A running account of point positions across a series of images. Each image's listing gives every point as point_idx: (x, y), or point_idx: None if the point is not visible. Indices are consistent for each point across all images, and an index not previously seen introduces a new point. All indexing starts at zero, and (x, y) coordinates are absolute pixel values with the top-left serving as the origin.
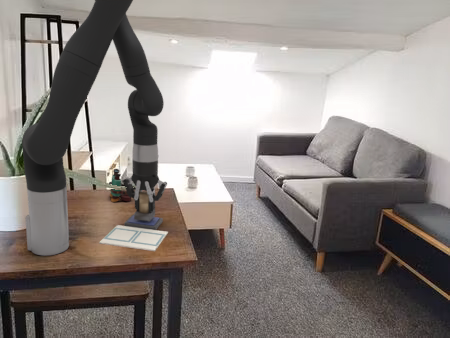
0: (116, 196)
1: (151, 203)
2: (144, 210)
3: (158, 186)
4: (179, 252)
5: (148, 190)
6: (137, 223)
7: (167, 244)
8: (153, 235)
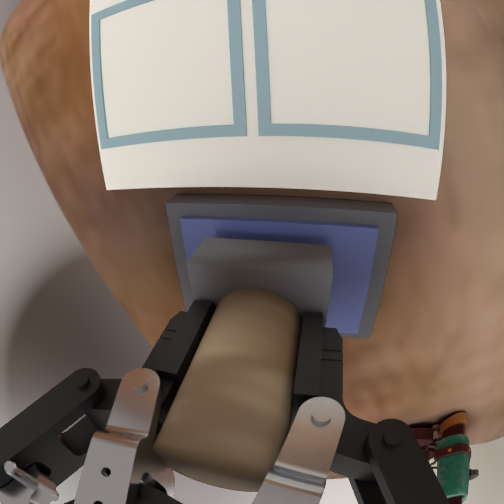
0: (450, 435)
1: (162, 363)
2: (236, 305)
3: (33, 485)
4: (24, 44)
5: (103, 484)
6: (300, 220)
7: (69, 71)
8: (148, 113)
